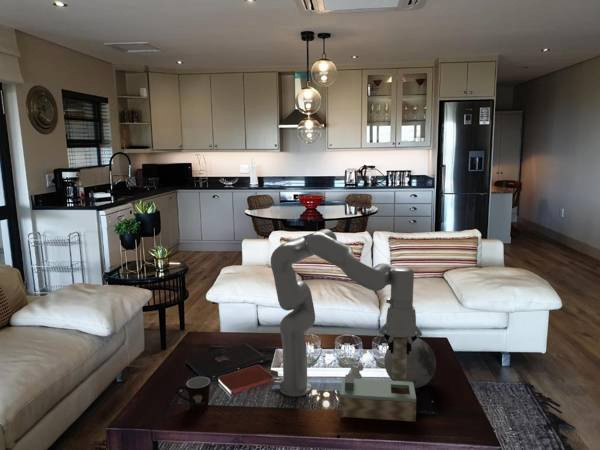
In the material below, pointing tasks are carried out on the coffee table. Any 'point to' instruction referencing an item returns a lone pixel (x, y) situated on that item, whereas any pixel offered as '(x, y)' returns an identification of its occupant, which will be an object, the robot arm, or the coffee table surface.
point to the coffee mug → (197, 392)
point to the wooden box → (379, 408)
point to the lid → (375, 389)
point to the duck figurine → (356, 370)
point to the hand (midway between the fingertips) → (399, 351)
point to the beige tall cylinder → (399, 358)
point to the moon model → (415, 364)
